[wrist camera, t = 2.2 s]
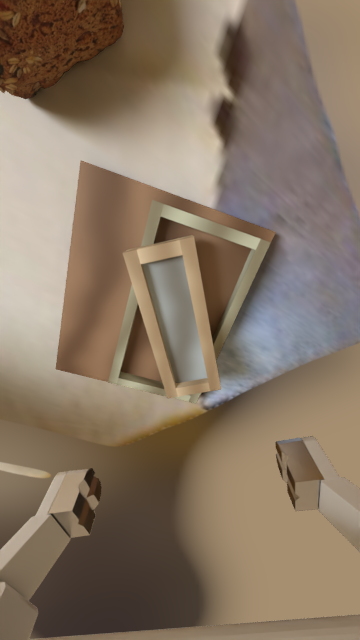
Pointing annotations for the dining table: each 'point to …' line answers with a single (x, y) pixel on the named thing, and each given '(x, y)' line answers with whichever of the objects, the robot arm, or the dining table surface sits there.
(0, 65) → the bread
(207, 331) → the frame
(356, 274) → the dining table surface
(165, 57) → the dining table surface
